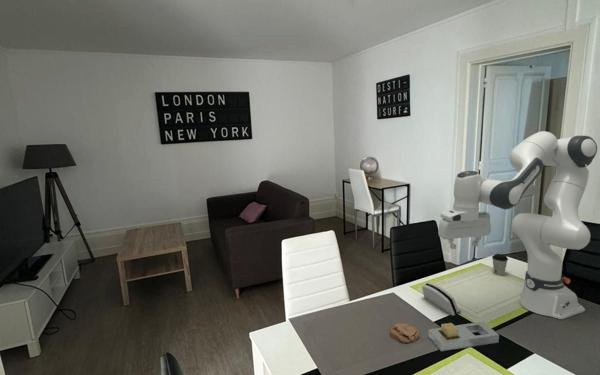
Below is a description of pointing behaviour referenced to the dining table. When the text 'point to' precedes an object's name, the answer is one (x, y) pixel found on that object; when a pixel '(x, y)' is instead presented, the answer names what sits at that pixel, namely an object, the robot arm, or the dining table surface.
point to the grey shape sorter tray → (465, 336)
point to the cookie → (404, 333)
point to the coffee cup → (499, 264)
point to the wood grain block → (449, 331)
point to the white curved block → (440, 298)
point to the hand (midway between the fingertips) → (463, 247)
